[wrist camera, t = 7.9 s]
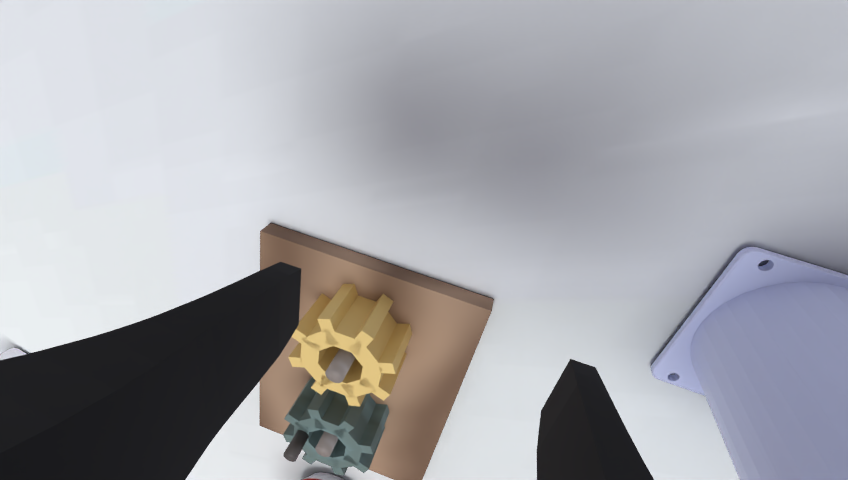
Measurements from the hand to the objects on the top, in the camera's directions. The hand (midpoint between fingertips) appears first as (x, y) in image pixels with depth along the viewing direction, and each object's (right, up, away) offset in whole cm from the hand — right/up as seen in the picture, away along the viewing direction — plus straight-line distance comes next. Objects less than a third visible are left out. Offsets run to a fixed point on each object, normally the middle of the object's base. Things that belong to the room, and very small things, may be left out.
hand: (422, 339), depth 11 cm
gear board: (-4, -6, +16) cm, 18 cm away
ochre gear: (-4, -2, +13) cm, 14 cm away
